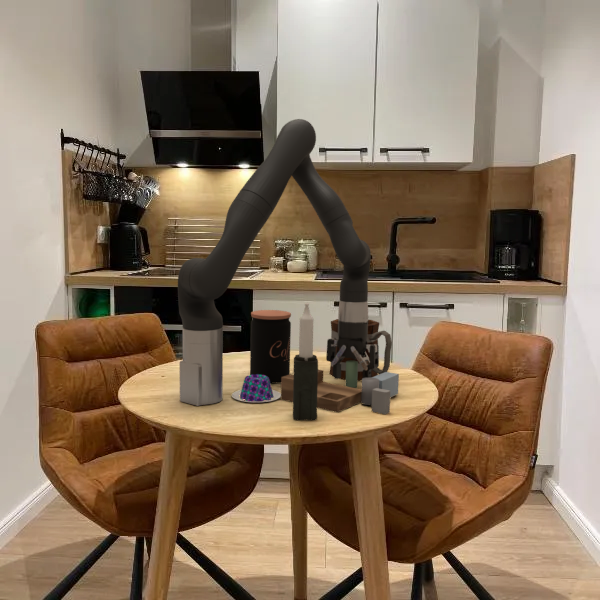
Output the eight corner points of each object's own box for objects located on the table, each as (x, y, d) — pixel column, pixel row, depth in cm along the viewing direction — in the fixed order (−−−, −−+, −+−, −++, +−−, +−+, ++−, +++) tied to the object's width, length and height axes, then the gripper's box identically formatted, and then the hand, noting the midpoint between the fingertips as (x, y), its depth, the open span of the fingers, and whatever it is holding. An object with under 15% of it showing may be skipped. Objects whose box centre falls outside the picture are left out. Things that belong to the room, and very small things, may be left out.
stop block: (385, 414, 132) (386, 392, 131) (371, 411, 134) (372, 389, 133) (389, 412, 133) (390, 390, 132) (375, 409, 135) (376, 387, 135)
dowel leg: (353, 390, 150) (354, 363, 149) (343, 388, 152) (343, 361, 151) (359, 388, 153) (360, 361, 152) (349, 386, 154) (350, 359, 153)
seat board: (337, 412, 132) (338, 388, 132) (281, 399, 142) (281, 377, 141) (364, 400, 142) (365, 378, 141) (310, 388, 151) (310, 367, 151)
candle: (315, 413, 132) (318, 301, 129) (317, 420, 127) (319, 304, 124) (292, 412, 132) (294, 300, 128) (293, 420, 126) (295, 304, 123)
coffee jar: (271, 386, 153) (273, 317, 150) (241, 378, 159) (242, 312, 157) (297, 378, 161) (299, 313, 159) (267, 371, 168) (269, 308, 165)
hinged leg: (373, 406, 136) (373, 382, 135) (358, 403, 138) (358, 379, 138) (399, 393, 147) (399, 372, 146) (384, 391, 149) (385, 369, 148)
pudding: (291, 398, 144) (292, 377, 143) (253, 408, 135) (254, 386, 135) (258, 388, 152) (259, 368, 151) (221, 397, 144) (221, 376, 143)
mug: (319, 373, 167) (320, 321, 165) (352, 366, 176) (353, 316, 174) (371, 388, 152) (373, 331, 151) (405, 380, 161) (407, 325, 160)
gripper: (321, 317, 151) (320, 379, 153) (370, 323, 143) (368, 389, 145) (337, 314, 157) (335, 374, 159) (385, 319, 149) (383, 382, 151)
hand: (351, 381), depth 152 cm, fingers open, 8 cm apart
